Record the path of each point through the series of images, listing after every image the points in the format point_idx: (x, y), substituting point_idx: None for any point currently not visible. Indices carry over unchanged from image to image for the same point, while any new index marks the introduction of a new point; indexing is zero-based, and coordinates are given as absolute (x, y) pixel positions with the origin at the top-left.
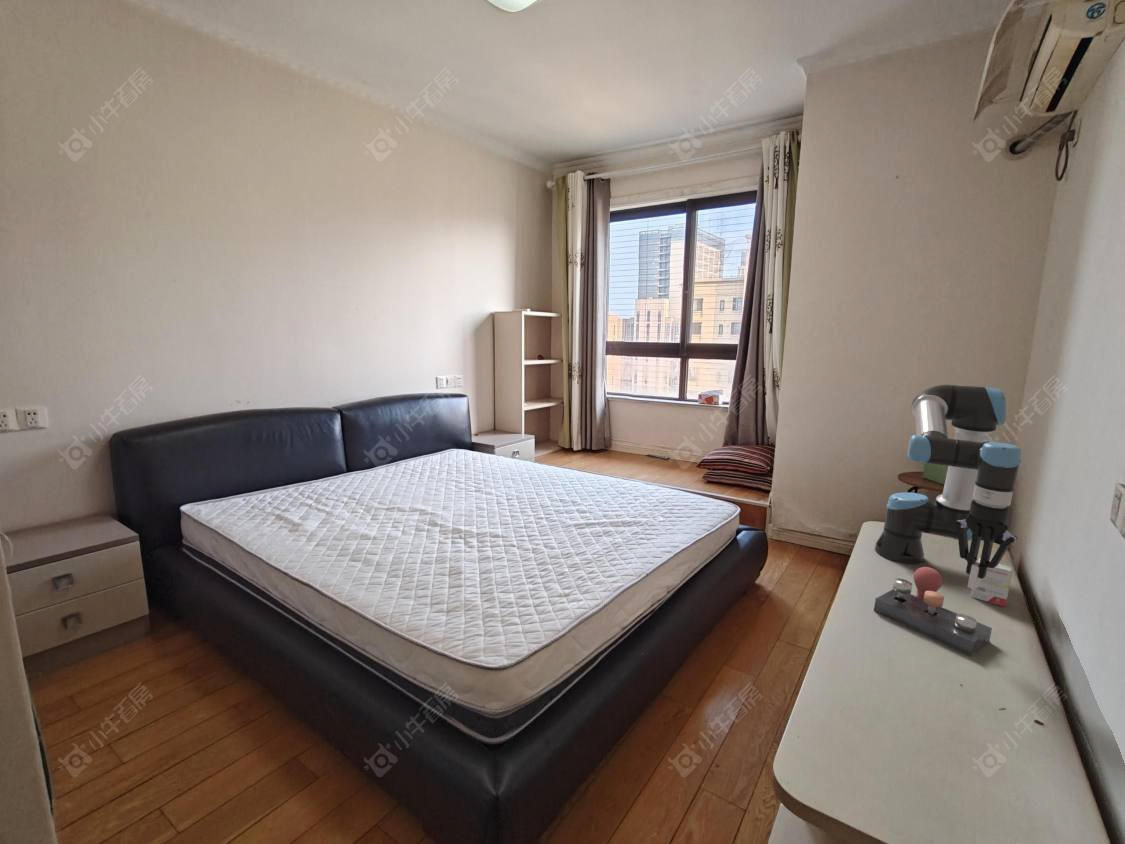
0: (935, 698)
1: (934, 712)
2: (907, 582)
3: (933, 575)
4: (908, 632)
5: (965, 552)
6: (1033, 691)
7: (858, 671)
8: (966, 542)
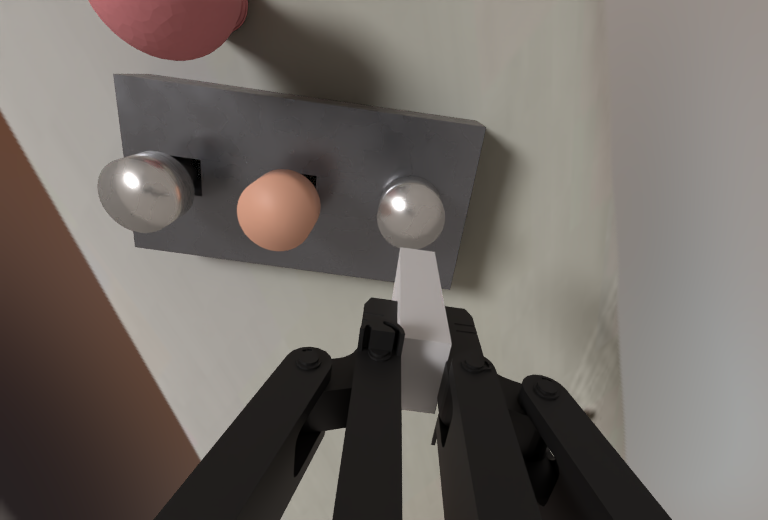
0: (420, 475)
1: (428, 508)
2: (147, 182)
3: (178, 18)
4: (288, 275)
5: (309, 454)
6: (586, 312)
7: (292, 496)
8: (257, 511)
